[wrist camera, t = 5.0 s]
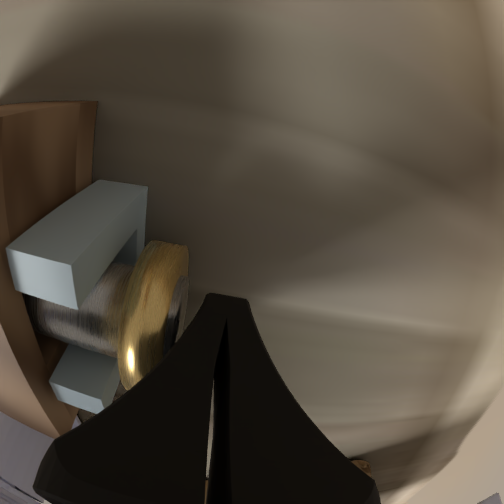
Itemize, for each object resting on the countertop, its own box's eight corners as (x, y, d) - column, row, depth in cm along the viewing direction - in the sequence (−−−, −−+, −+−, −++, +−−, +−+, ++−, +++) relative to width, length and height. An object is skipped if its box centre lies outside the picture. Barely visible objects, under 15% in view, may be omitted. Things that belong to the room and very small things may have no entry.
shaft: (187, 327, 12) (164, 426, 8) (5, 278, 11) (-48, 338, 7) (200, 222, 10) (164, 317, 6) (-11, 187, 9) (-86, 236, 5)
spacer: (144, 318, 13) (107, 417, 8) (104, 309, 13) (57, 399, 8) (148, 186, 10) (70, 265, 5) (99, 179, 10) (5, 247, 5)
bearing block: (105, 349, 14) (65, 443, 9) (20, 320, 13) (-28, 393, 8) (97, 101, 8) (-35, 126, 3) (-9, 106, 8) (-114, 140, 3)
